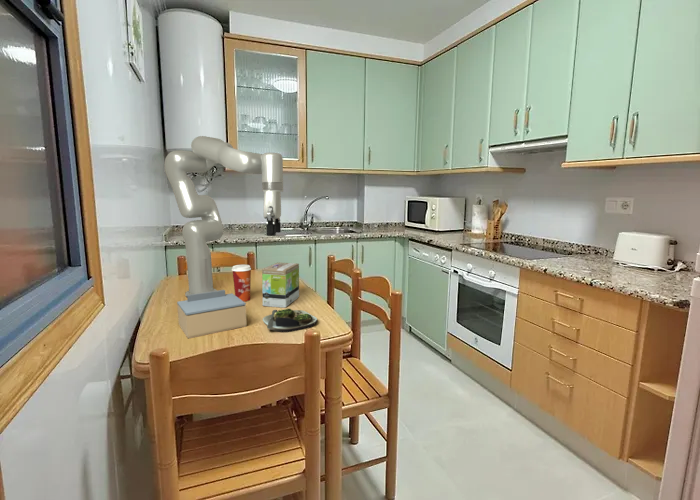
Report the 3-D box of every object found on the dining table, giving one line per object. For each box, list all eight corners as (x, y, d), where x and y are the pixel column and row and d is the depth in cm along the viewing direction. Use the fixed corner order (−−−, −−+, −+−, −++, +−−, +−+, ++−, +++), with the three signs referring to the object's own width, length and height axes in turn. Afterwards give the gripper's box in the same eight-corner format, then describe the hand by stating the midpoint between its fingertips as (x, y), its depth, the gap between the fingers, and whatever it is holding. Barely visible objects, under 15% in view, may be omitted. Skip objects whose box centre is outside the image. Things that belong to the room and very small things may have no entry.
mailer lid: (177, 303, 122) (176, 295, 121) (232, 294, 132) (231, 287, 131) (186, 315, 110) (185, 306, 110) (245, 304, 120) (245, 297, 120)
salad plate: (252, 319, 130) (251, 306, 129) (299, 310, 139) (298, 298, 138) (271, 337, 113) (271, 323, 113) (323, 326, 123) (323, 312, 122)
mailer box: (178, 324, 123) (177, 304, 122) (233, 314, 133) (232, 295, 132) (187, 338, 111) (186, 316, 110) (246, 326, 121) (245, 305, 120)
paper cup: (242, 303, 146) (240, 268, 143) (229, 300, 150) (227, 266, 147) (257, 299, 152) (255, 265, 150) (243, 296, 156) (242, 263, 154)
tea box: (286, 308, 140) (285, 270, 138) (262, 306, 142) (260, 268, 140) (299, 297, 155) (299, 262, 153) (277, 295, 157) (276, 261, 155)
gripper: (267, 187, 145) (268, 231, 147) (256, 187, 128) (258, 236, 130) (286, 187, 145) (287, 231, 147) (278, 187, 128) (279, 237, 130)
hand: (273, 233), depth 139 cm, fingers open, 9 cm apart
